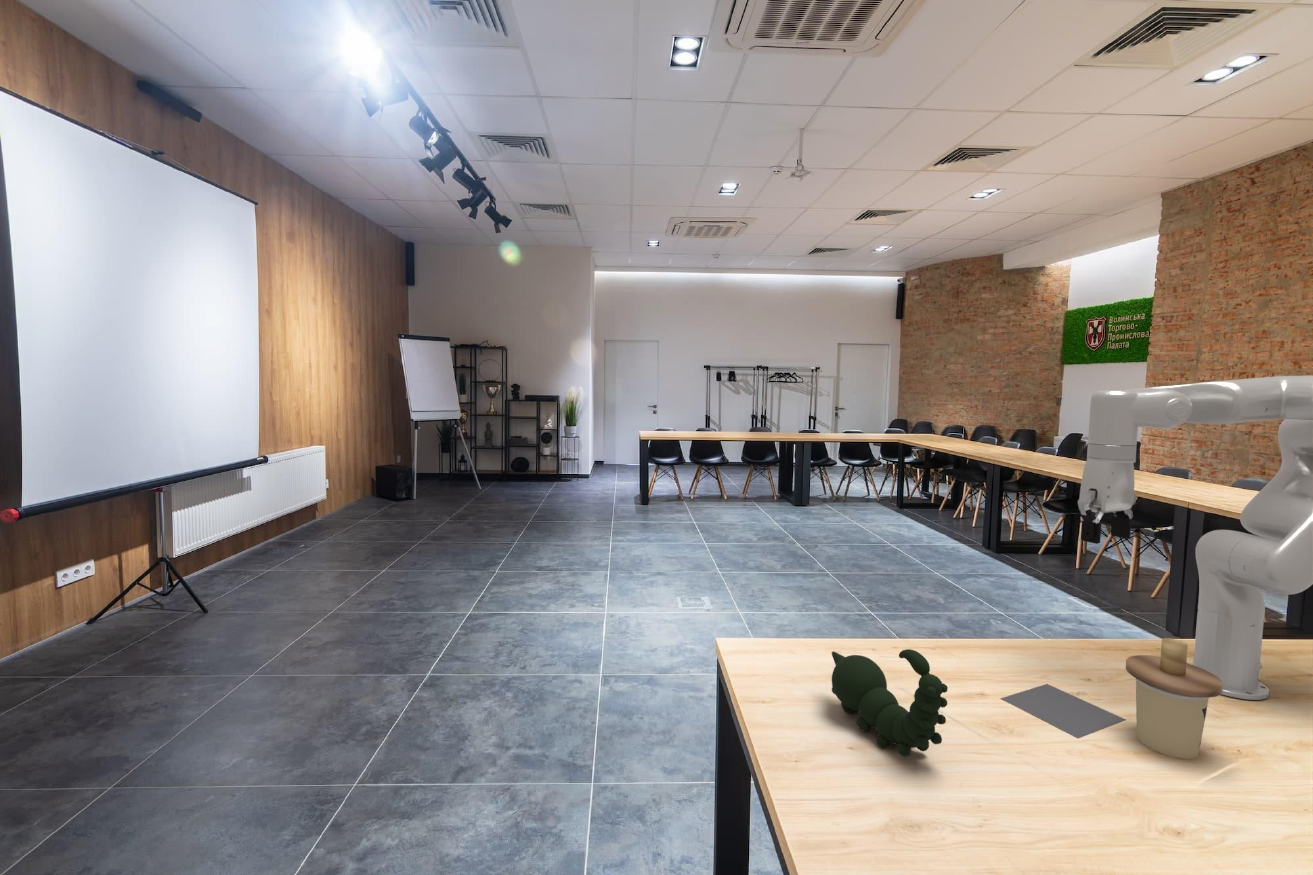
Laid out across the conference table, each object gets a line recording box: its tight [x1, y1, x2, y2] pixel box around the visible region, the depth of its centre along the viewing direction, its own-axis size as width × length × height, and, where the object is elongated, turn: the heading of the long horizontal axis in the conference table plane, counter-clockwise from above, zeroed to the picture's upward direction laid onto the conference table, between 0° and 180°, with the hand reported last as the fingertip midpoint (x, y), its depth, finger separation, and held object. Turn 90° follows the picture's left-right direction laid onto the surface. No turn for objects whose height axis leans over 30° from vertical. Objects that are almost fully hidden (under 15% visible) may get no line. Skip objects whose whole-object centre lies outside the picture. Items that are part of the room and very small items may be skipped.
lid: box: [1125, 637, 1223, 698], centre depth 96 cm, size 12×12×6 cm
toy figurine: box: [831, 648, 948, 758], centre depth 101 cm, size 9×19×25 cm
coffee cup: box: [1135, 678, 1210, 760], centre depth 97 cm, size 9×9×12 cm
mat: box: [1000, 683, 1127, 739], centre depth 108 cm, size 14×14×1 cm
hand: (1105, 539), depth 115 cm, fingers open, 9 cm apart
